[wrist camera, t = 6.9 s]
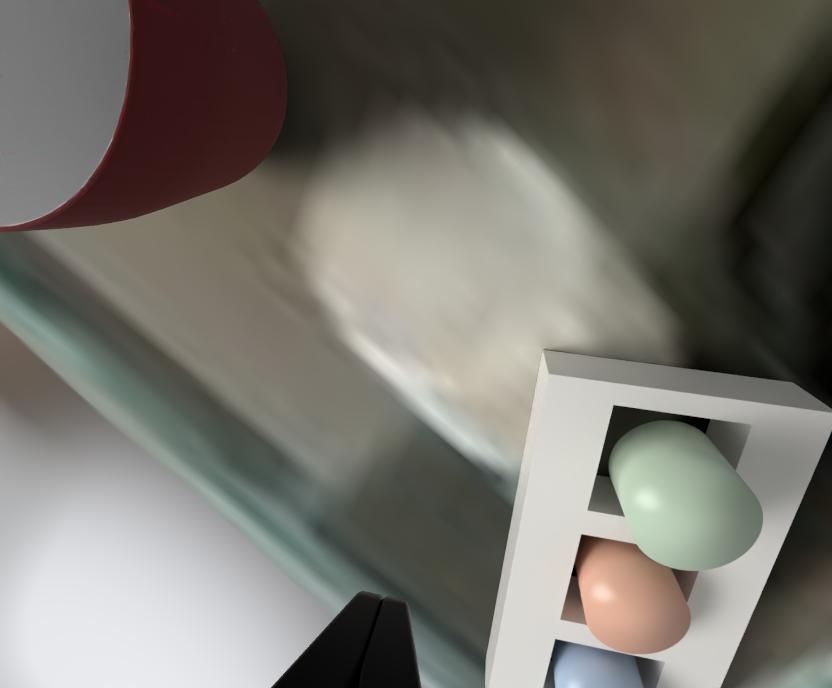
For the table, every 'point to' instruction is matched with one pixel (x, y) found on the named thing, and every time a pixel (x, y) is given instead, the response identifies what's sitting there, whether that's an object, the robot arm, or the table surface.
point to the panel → (603, 516)
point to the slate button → (593, 667)
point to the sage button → (683, 497)
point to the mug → (131, 105)
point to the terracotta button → (629, 597)
